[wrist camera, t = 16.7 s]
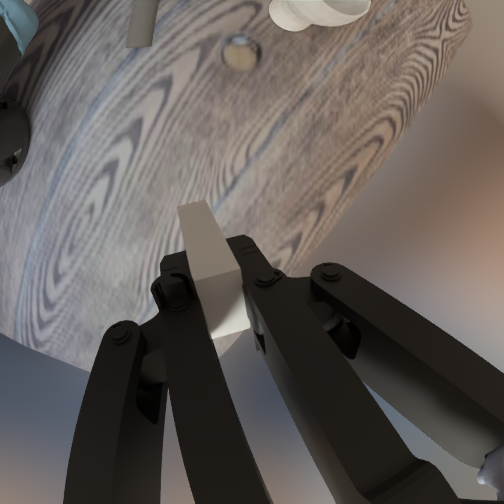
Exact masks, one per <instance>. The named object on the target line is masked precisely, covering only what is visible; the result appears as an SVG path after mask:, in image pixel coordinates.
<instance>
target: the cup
mask: <svg viewBox="0 0 504 504" xmlns="http://www.w3.org/2000/svg"><path fill="white" fill-rule="evenodd" d="M370 3H371V0H272V2H271V3H270V5H269V14H270V16H271V18H272V20H273V21H274V22H275V23H276V24H277V25H278V26H279V27H281V28H283V29H285V30H288V31H294V32H296V31H301V30H304V29H305V28H307V27H308V26H309V25H311V24H315V25H321V26H341V25H344V24H348V23H351V22H354V21H355V20H357V19H358V18H360V17H361V16H363V15H364V14H365V13H366V12H367V11H368V9H369V7H370Z"/></svg>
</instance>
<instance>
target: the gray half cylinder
mask: <svg viewBox="0 0 504 504" xmlns="http://www.w3.org/2000/svg"><path fill="white" fill-rule="evenodd" d="M158 4H159V0H135V1H134V5H133V9H132V14H131V19H130V24H129V30H128V36H127V42H126V48H136V47H149V46H151V44H152V38H153V31H154V25H155V20H156V14H157V9H158Z"/></svg>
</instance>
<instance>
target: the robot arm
mask: <svg viewBox="0 0 504 504" xmlns="http://www.w3.org/2000/svg"><path fill="white" fill-rule="evenodd" d="M38 26H39V20H38V17H37V15H36V13H35V12H34V10H33V9H32V8H31V7H30V6H29V5H28V4H27V3H26V2H24V1H23V0H0V95H1V93H2V91H3V89H4V87H5V85H6V83H7V81H8V79H9V77H10V75H11V73H12V72H13V70H14V68H15V66H16V65H17V63H18V61H19V60H20V58H22V57H23V55H24V51H25V49H26V48H27V46H28V44H29V43H30V41H31V40H32V38H33V36H34V35H35V33H36V32H37V29H38ZM29 137H30V133H29V124H28V119H27V116H26V114H25V112H24V110H23V108H22V107H21V106H20V105H19V104H18V103H17V102H16V101H14V100H12V99H9V98H0V187H1V186H3V185H4V184H6V183H7V182H9V181H10V180H11V179H13V178H14V177H15V176H16V174H17V173H18V172H19V170H20V169H21V167H22V165H23V163H24V161H25V158H26V155H27V151H28V147H29ZM177 209H178V215H179V220H180V225H181V230H182V235H183V239H184V244H185V249H186V250H185V251H182V252H178V253H174V254H170V255H167V256H164V257H163V259H162V261H161V263H160V272H161V273H160V274H161V276H160V277H158V278H157V279H156V280H155V281H154V282H153V283H152V285H151V289H150V290H151V292H152V295H153V297H154V299H155V302H156V304H157V306H158V309H159V312H158V314H157V315H156V316H155V317H154V318H152V319H151V320H149V321H147V322H146V323H144V324H142V325H140V326H138V324H137V323H135V322H133V321H129V320H125V321H120V322H117V323H115V324H114V325H112V326H111V327H110V328H109V329H108V330H107V331H106V332H105V334H104V336H103V338H102V341H101V344H100V347H99V350H98V352H97V355H96V358H95V361H94V364H93V367H92V371H91V374H90V377H89V380H88V384H87V387H86V390H85V394H84V397H83V401H82V405H81V409H80V412H79V416H78V421H77V424H76V429H75V433H74V438H73V442H72V447H71V453H70V458H69V464H68V469H67V476H66V483H65V491H64V500H63V504H160V491H161V466H162V465H161V464H162V449H163V434H164V422H165V412H166V402H167V393H168V389H169V395H170V400H171V406H172V411H173V417H174V421H175V426H176V432H177V436H178V441H179V445H180V449H181V454H182V458H183V462H184V466H185V469H186V473H187V477H188V480H189V484H190V488H191V491H192V494H193V498H194V501H195V504H273V501H272V499H271V497H270V495H269V492H268V490H267V488H266V486H265V484H264V481H263V479H262V476H261V474H260V471H259V469H258V467H257V464H256V462H255V459H254V457H253V454H252V452H251V449H250V447H249V444H248V442H247V439H246V436H245V434H244V431H243V428H242V426H241V423H240V420H239V418H238V415H237V412H236V409H235V406H234V404H233V401H232V398H231V395H230V392H229V389H228V386H227V383H226V380H225V377H224V374H223V371H222V368H221V365H220V362H219V359H218V355H217V352H216V349H215V346H214V343H213V340H212V339H214V338H218V337H221V336H225V335H228V334H232V333H235V332H238V331H242V330H245V329H248V328H250V323H251V325H252V327H253V331H254V337H255V343H256V349H257V351H258V350H260V351H261V353H262V355H263V358H264V360H265V362H266V364H267V366H268V368H269V370H270V373H271V375H272V377H273V379H274V381H275V383H276V385H277V387H278V390H279V392H280V394H281V396H282V398H283V400H284V402H285V404H286V406H287V408H288V410H289V412H290V414H291V416H292V418H293V420H294V422H295V424H296V426H297V428H298V430H299V432H300V434H301V436H302V438H303V440H304V442H305V444H306V446H307V448H308V450H309V452H310V454H311V456H312V458H313V460H314V462H315V464H316V466H317V468H318V469H319V471H320V473H321V475H322V477H323V479H324V481H325V483H326V485H327V487H328V488H329V490H330V492H331V494H332V496H333V498H334V500H335V502H336V504H504V373H502V372H501V371H499V370H498V369H497V368H495V367H494V366H493V365H491V364H490V363H489V362H487V361H486V360H484V359H483V358H482V357H480V356H479V355H478V354H476V353H475V352H473V351H472V350H471V349H469V348H468V347H466V346H465V345H463V344H462V343H461V342H459V341H458V340H456V339H455V338H454V337H452V336H451V335H449V334H448V333H446V332H445V331H443V330H442V329H441V328H439V327H438V326H436V325H435V324H433V323H432V322H430V321H429V320H427V319H425V318H424V317H423V316H421V315H420V314H418V313H417V312H415V311H414V310H412V309H411V308H409V307H407V306H406V305H405V304H403V303H402V302H400V301H398V300H397V299H395V298H394V297H392V296H391V295H389V294H388V293H386V292H384V291H383V290H381V289H380V288H378V287H377V286H375V285H373V284H372V283H370V282H369V281H367V280H366V279H364V278H362V277H361V276H359V275H357V274H356V273H354V272H353V271H351V270H349V269H348V268H346V267H344V266H342V265H340V264H338V263H331V262H330V263H322V264H319V265H317V266H315V267H314V268H313V269H312V271H311V274H310V277H300V278H291V277H287V276H286V275H285V274H284V273H283V272H282V271H281V270H278V269H275V268H272V267H271V265H270V264H269V262H268V261H267V259H266V258H265V257H264V255H263V254H262V252H261V251H260V249H259V248H258V247H257V246H256V244H255V242H254V241H253V239H252V238H250V237H248V236H246V235H244V234H243V235H239V236H235V237H231V238H228V239H225V238H224V236H223V234H222V232H221V230H220V228H219V226H218V224H217V222H216V220H215V218H214V216H213V214H212V212H211V210H210V208H209V206H208V204H207V202H206V200H203V201H198V202H194V203H190V204H186V205H182V206H179V207H177ZM249 321H250V322H249ZM361 380H362V381H363V382H364V383H366V384H367V385H368V386H369V387H370V388H371V389H372V390H373V391H375V392H376V393H377V394H378V395H379V396H380V397H382V398H383V399H384V400H385V401H386V402H388V403H389V404H390V405H391V406H392V407H393V408H395V409H396V410H397V411H398V412H399V413H401V414H402V415H403V416H404V417H405V418H407V419H408V420H409V421H410V422H411V423H413V424H414V425H415V426H416V427H417V428H419V429H420V430H421V431H422V432H423V433H425V434H426V435H427V436H428V437H430V438H431V439H432V440H433V441H434V442H436V443H437V444H438V445H439V446H441V447H442V448H443V449H444V450H446V451H447V452H448V453H449V454H451V455H452V456H454V457H455V458H457V459H458V460H459V461H461V462H463V463H465V464H467V465H470V466H472V467H476V468H479V469H480V471H479V472H478V475H477V480H478V482H479V483H480V484H485V483H486V485H487V486H489V487H491V488H492V489H494V490H495V492H496V493H497V501H490V500H489V501H488V500H471V499H460V498H458V497H457V496H456V494H455V493H454V491H453V490H452V488H451V487H450V485H449V484H448V482H447V481H446V479H445V478H444V476H443V475H442V473H441V472H440V471H439V470H438V468H437V467H436V466H435V465H433V464H432V463H430V462H429V461H425V460H421V459H418V458H417V457H415V456H414V455H413V454H412V453H411V452H410V450H409V449H408V448H407V446H406V445H405V443H404V441H403V440H402V438H401V437H400V435H399V434H398V433H397V431H396V430H395V428H394V427H393V425H392V424H391V422H390V421H389V420H388V418H387V417H386V415H385V414H384V412H383V411H382V409H381V408H380V407H379V405H378V404H377V402H376V401H375V399H374V398H373V396H372V395H371V394H370V392H369V391H368V389H367V388H366V386H365V385H364V384H363V382H362V381H361Z"/></svg>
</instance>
